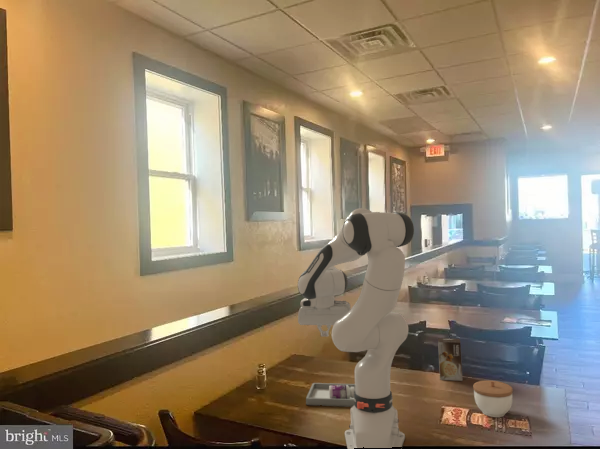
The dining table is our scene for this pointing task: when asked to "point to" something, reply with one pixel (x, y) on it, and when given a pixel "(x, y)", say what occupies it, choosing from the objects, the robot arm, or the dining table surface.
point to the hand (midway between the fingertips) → (324, 336)
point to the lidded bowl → (493, 397)
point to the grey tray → (326, 396)
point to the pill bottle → (341, 392)
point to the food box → (450, 359)
